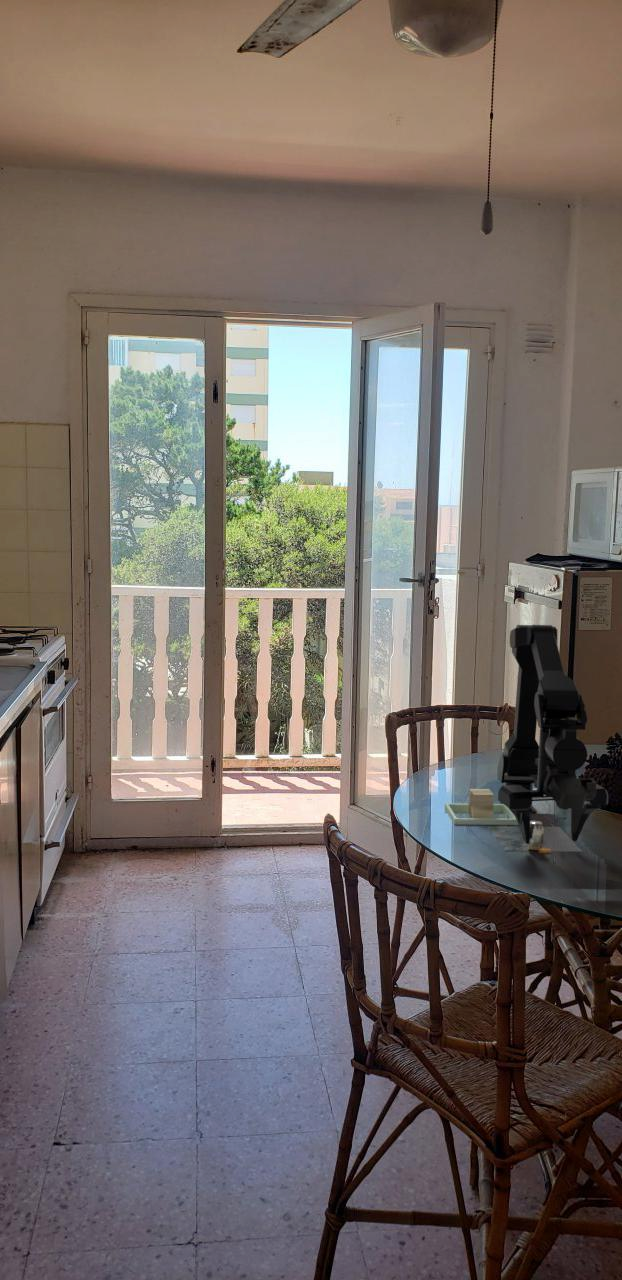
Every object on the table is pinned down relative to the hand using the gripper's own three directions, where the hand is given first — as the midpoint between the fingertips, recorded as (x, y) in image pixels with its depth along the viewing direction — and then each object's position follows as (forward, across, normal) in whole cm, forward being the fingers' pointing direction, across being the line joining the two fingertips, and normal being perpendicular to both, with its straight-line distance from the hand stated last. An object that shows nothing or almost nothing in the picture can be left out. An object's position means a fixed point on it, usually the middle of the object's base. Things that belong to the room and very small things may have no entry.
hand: (550, 841), depth 176 cm
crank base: (+3, 0, +7) cm, 8 cm away
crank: (+1, -1, +4) cm, 5 cm away
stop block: (+3, -5, +22) cm, 22 cm away
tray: (+3, -5, +22) cm, 22 cm away
